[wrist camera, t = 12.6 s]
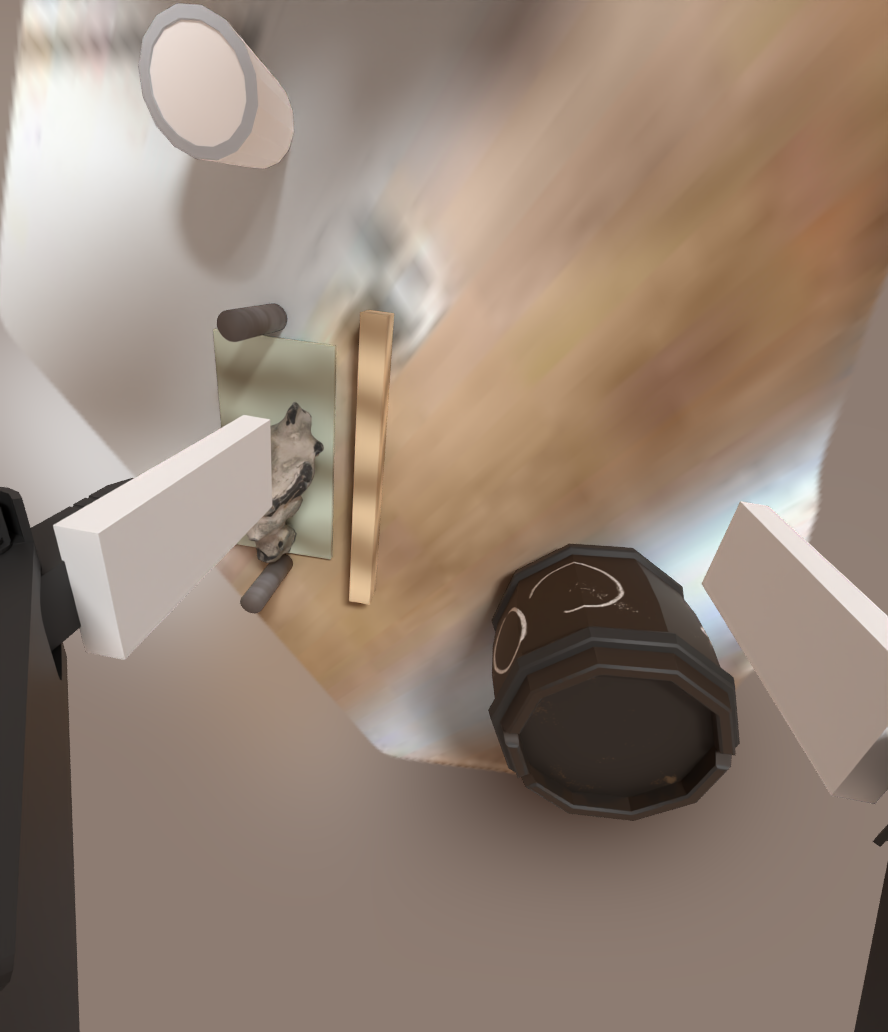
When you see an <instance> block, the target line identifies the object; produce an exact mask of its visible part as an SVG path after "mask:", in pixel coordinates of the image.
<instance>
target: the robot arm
mask: <svg viewBox="0 0 888 1032" xmlns="http://www.w3.org/2000/svg"><path fill="white" fill-rule="evenodd" d="M271 507H272V476H271V429H270V419H264V418H259V417H253V416H247V415H243V416H241V417H239V418H238V419H236V420H234V421H232V422H231V423H229V424H227V425H225V426H224V427H222V428H220V429H219V430H217V431H215V432H213V433H212V434H210V435H208V436H206V437H205V438H203V439H201V440H200V441H198V442H196V443H194V444H193V445H191V446H189V447H187V448H186V449H184V450H182V451H180V452H179V453H177V454H175V455H174V456H172V457H170V458H168V459H167V460H165V461H163V462H161V463H160V464H158V465H156V466H155V467H153V468H151V469H149V470H148V471H146V472H144V473H142V474H141V475H139V476H137V477H136V478H131V479H127V480H124V481H121V482H117V483H114V484H111V485H107V486H105V487H104V488H102V489H100V490H98V491H97V492H95V493H93V494H91V495H90V496H89V498H84V499H82V500H80V501H79V502H77V503H75V504H74V506H73V507H68V508H66V509H64V510H63V511H61V512H59V513H57V514H55V515H53V516H52V517H50V518H48V519H46V520H45V521H43V522H41V523H39V524H37V525H35V526H34V527H32V528H30V525H29V521H28V518H27V514H26V511H25V507H24V504H23V500H22V498H21V496H20V494H19V492H17V491H14V490H12V489H10V488H5V487H0V1032H80V1031H79V1002H78V972H77V943H76V915H75V887H74V886H75V885H74V856H73V828H72V798H71V769H70V740H69V711H68V682H67V656H66V652H65V649H64V645H63V641H64V640H66V639H67V638H68V637H69V636H70V635H72V634H73V633H74V632H75V631H76V630H77V629H78V628H79V629H80V632H81V636H82V640H83V644H84V648H85V652H87V653H92V654H97V655H102V656H107V657H113V658H118V659H123V660H125V659H126V658H127V657H128V656H129V655H130V654H131V653H132V652H133V651H134V650H135V649H136V648H137V647H138V645H140V643H142V641H143V640H144V639H145V638H146V637H147V636H148V635H149V634H150V633H151V632H152V631H153V630H154V629H155V628H156V627H157V626H158V625H159V624H160V622H162V621H163V620H164V619H165V618H166V616H167V615H168V614H169V613H170V612H171V611H172V610H173V609H174V608H175V607H176V606H177V605H178V604H179V603H180V602H181V601H182V600H183V599H184V598H185V597H186V596H187V595H188V594H189V592H190V591H191V590H192V589H193V588H194V587H195V586H196V585H197V584H198V583H199V582H200V581H201V580H202V579H203V578H204V577H205V576H206V575H207V574H208V573H209V572H210V571H211V570H212V569H213V568H214V567H215V566H216V564H217V563H218V562H219V561H220V560H221V559H222V558H223V557H224V556H225V555H226V554H227V553H228V552H229V551H230V550H231V549H232V548H233V547H234V546H235V545H236V544H237V543H238V542H239V541H240V539H241V538H242V537H243V536H244V535H245V534H246V533H247V532H248V531H249V530H250V529H251V528H252V527H253V526H254V525H255V524H256V523H257V522H258V521H259V520H260V519H261V518H262V517H263V516H264V515H265V513H266V512H267V511H268V510H269V509H270V508H271ZM702 585H703V587H704V588H705V590H706V592H707V593H708V595H709V597H710V598H711V600H712V601H713V603H714V605H715V606H716V608H717V610H718V611H719V613H720V615H721V616H722V618H723V619H724V621H725V623H726V624H727V626H728V628H729V629H730V631H731V633H732V634H733V636H734V637H735V639H736V641H737V642H738V644H739V646H740V647H741V649H742V651H743V652H744V654H745V655H746V657H747V659H748V660H749V662H750V664H751V665H752V667H753V668H754V670H755V672H756V673H757V675H758V677H759V678H760V680H761V682H762V683H763V685H764V686H765V688H766V690H767V691H768V693H769V695H770V696H771V698H772V700H773V701H774V703H775V704H776V706H777V708H778V709H779V711H780V713H781V714H782V716H783V718H784V719H785V721H786V722H787V724H788V726H789V727H790V729H791V731H792V732H793V734H794V736H795V737H796V739H797V740H798V742H799V744H800V745H801V747H802V749H803V750H804V752H805V754H806V755H807V757H808V758H809V760H810V762H811V763H812V765H813V767H814V768H815V770H816V772H817V773H818V775H819V776H820V778H821V780H822V781H823V783H824V785H825V786H826V788H827V789H828V791H829V793H830V794H831V796H835V797H841V798H846V799H851V800H856V801H861V802H867V803H872V804H875V803H876V802H877V801H878V800H879V799H880V797H881V796H882V795H883V794H884V793H885V792H886V791H887V790H888V616H887V615H886V614H885V613H884V612H883V611H882V610H880V609H879V608H878V607H877V606H876V605H875V604H874V603H873V602H872V601H871V600H870V599H869V598H868V597H866V596H865V595H864V594H863V593H862V592H861V591H860V590H859V589H858V588H857V587H856V586H855V585H853V584H852V583H851V582H850V581H849V580H848V579H847V578H846V577H845V576H843V574H842V573H840V572H839V571H838V570H837V569H836V568H835V567H834V566H833V565H832V564H831V563H830V562H828V561H827V560H826V559H825V558H824V557H823V556H822V555H821V554H820V553H819V552H818V551H817V550H815V549H814V548H813V547H812V546H811V545H810V544H809V543H808V542H807V541H806V540H805V539H804V538H803V537H801V536H800V535H799V534H798V533H797V532H796V531H795V530H794V529H793V528H792V527H791V526H790V525H788V524H787V523H786V522H785V521H784V520H783V519H782V518H781V517H780V516H779V515H778V514H777V513H775V512H774V511H773V510H772V509H771V508H770V507H769V506H764V505H759V504H753V503H747V502H741V501H740V503H739V505H738V507H737V510H736V512H735V514H734V516H733V518H732V520H731V522H730V524H729V527H728V529H727V531H726V533H725V535H724V537H723V539H722V542H721V544H720V546H719V548H718V550H717V552H716V554H715V556H714V559H713V561H712V563H711V565H710V567H709V569H708V571H707V574H706V576H705V578H704V580H703V582H702ZM885 841H888V825H887V826H886V827H885V828H884V829H883V830H882V831H881V832H880V834H879V835H878V836H877V837H876V838H875V840H874V841H873V842H874V843H876V844H877V845H878V846H882V844H884V842H885ZM854 1032H888V863H887V869H886V874H885V879H884V884H883V889H882V894H881V899H880V904H879V909H878V914H877V919H876V924H875V929H874V934H873V940H872V945H871V949H870V954H869V960H868V965H867V970H866V975H865V980H864V985H863V990H862V995H861V1000H860V1005H859V1010H858V1015H857V1020H856V1025H855V1030H854Z"/></svg>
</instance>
